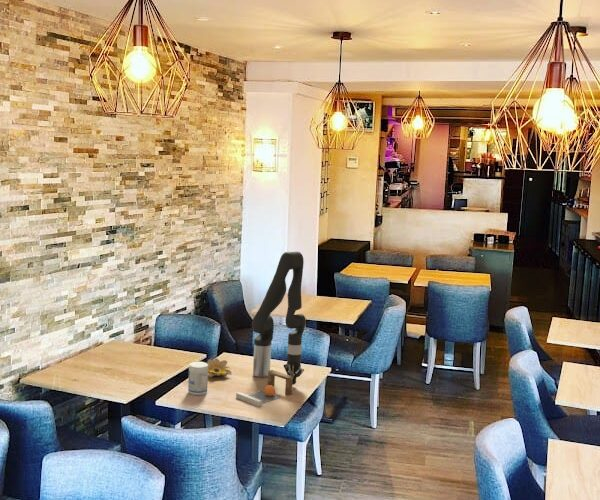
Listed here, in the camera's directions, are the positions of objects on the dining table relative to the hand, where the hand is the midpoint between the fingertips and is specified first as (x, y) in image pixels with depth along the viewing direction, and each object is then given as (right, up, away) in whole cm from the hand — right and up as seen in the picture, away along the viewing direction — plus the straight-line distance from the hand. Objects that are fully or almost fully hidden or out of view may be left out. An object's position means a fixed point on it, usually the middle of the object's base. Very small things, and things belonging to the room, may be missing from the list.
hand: (293, 384), depth 362 cm
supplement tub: (-48, -2, -14) cm, 50 cm away
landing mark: (-15, -3, -17) cm, 23 cm away
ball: (-12, 0, -15) cm, 19 cm away
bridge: (-7, -2, -7) cm, 10 cm away
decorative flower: (-42, +2, +12) cm, 43 cm away
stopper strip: (-21, -4, -24) cm, 32 cm away
